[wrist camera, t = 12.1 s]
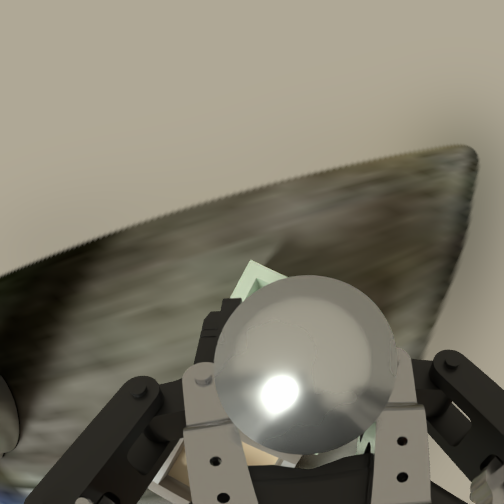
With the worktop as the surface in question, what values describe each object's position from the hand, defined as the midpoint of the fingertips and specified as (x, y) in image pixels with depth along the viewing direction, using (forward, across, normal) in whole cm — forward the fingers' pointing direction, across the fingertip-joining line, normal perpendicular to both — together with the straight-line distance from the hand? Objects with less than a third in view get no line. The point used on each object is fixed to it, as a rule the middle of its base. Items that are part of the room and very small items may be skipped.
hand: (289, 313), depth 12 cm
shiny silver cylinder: (+2, 0, +5) cm, 5 cm away
